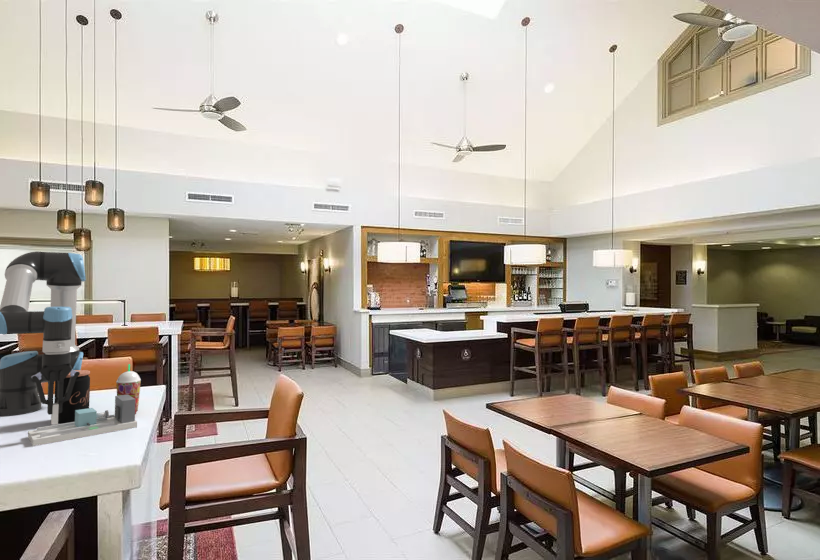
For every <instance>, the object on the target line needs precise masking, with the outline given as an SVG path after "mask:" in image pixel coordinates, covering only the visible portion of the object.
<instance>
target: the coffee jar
mask: <svg viewBox="0 0 820 560" xmlns="http://www.w3.org/2000/svg"><path fill="white" fill-rule="evenodd" d="M75 371H78V372H79V373H80V374H79V376H78V377H77V378H76V380H75V384H74V387H73V390H72V393H71V396H70V399H69V400H68V401H65V402H63V406H62V413H58V424H63V423H70V422H75V410H81V409H88V408H90V397H91V396H90V393H91V392H90V391H91V377H90V375H91V371H90V370H88V369H81V370H75ZM70 374H71V372H70V373H69V374H68V375H67V377H66V378H65V379H64V383H63V397H64V396H65V393H66V390H67V387H68V383H69V380H70V377H71V376H70ZM57 390H58V380H56V381H55V382H54V397H53V403H57Z"/></svg>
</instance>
